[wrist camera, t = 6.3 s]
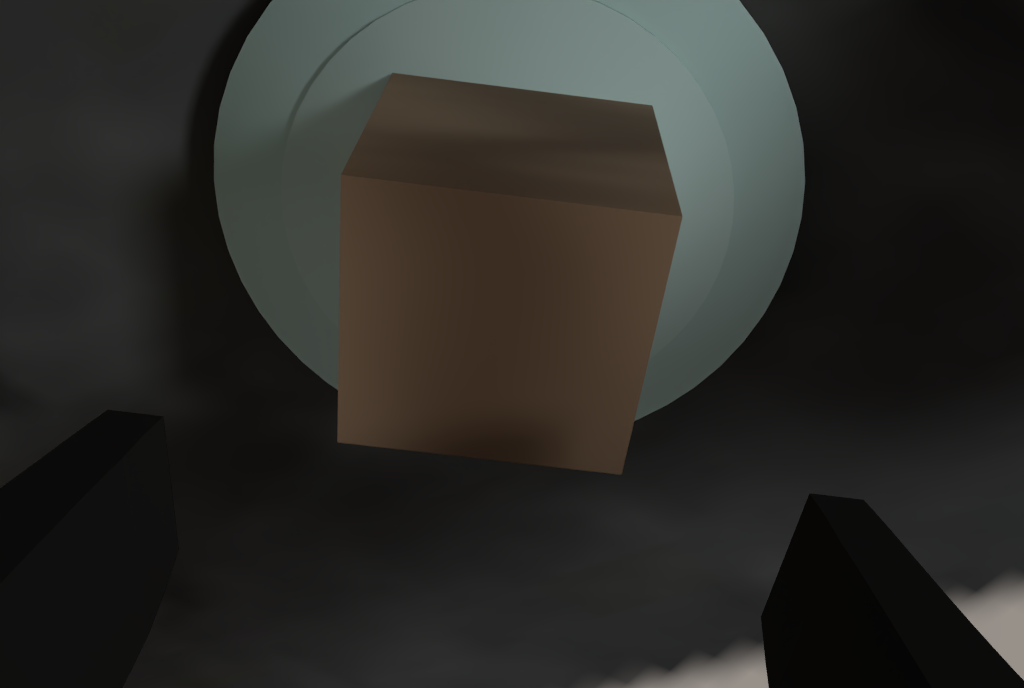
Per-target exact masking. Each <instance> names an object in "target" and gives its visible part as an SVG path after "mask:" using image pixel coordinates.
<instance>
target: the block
mask: <svg viewBox="0 0 1024 688" xmlns="http://www.w3.org/2000/svg"><path fill="white" fill-rule="evenodd" d="M682 217H683V216H682V212H681V209H680V205H679V201H678V198H677V194H676V190H675V187H674V183H673V179H672V176H671V172H670V168H669V165H668V161H667V157H666V154H665V150H664V146H663V142H662V139H661V135H660V131H659V128H658V124H657V120H656V117H655V113H654V109H653V106H652V105H645V104H637V103H629V102H621V101H613V100H605V99H597V98H589V97H581V96H573V95H566V94H558V93H550V92H542V91H534V90H526V89H518V88H510V87H502V86H494V85H486V84H478V83H470V82H462V81H454V80H446V79H438V78H430V77H422V76H414V75H406V74H398V73H392V75H391V77H390V79H389V81H388V83H387V85H386V87H385V88H384V90H383V92H382V94H381V96H380V98H379V100H378V102H377V104H376V106H375V108H374V110H373V112H372V114H371V116H370V118H369V120H368V122H367V124H366V126H365V128H364V130H363V132H362V134H361V136H360V138H359V140H358V142H357V144H356V146H355V148H354V150H353V152H352V154H351V156H350V158H349V159H348V161H347V163H346V165H345V167H344V169H343V171H342V173H341V196H340V276H339V356H338V436H337V442H339V443H347V444H356V445H365V446H374V447H382V448H391V449H400V450H409V451H417V452H426V453H435V454H444V455H452V456H461V457H470V458H479V459H488V460H496V461H505V462H514V463H523V464H531V465H540V466H549V467H558V468H566V469H575V470H584V471H593V472H602V473H610V474H619V475H622V471H623V467H624V462H625V458H626V454H627V450H628V445H629V441H630V437H631V433H632V429H633V424H634V420H635V416H636V412H637V407H638V403H639V399H640V395H641V390H642V386H643V382H644V378H645V374H646V369H647V365H648V361H649V357H650V352H651V348H652V344H653V340H654V335H655V331H656V327H657V323H658V319H659V314H660V310H661V306H662V302H663V297H664V293H665V289H666V285H667V280H668V276H669V272H670V268H671V264H672V259H673V255H674V251H675V247H676V242H677V238H678V234H679V230H680V225H681V221H682Z"/></svg>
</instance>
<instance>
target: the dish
mask: <svg viewBox="0 0 1024 688" xmlns="http://www.w3.org/2000/svg"><path fill="white" fill-rule="evenodd" d="M392 73H398V74H406V75H414V76H422V77H430V78H438V79H446V80H454V81H462V82H470V83H478V84H486V85H494V86H502V87H510V88H518V89H526V90H534V91H542V92H550V93H558V94H566V95H573V96H581V97H589V98H597V99H605V100H613V101H621V102H629V103H637V104H645V105H652V106H653V109H654V113H655V117H656V120H657V124H658V128H659V131H660V135H661V139H662V142H663V146H664V150H665V154H666V157H667V161H668V165H669V168H670V172H671V176H672V179H673V183H674V187H675V190H676V194H677V198H678V201H679V205H680V209H681V212H682V216H683V217H682V221H681V225H680V230H679V234H678V238H677V242H676V247H675V251H674V255H673V259H672V264H671V268H670V272H669V276H668V280H667V285H666V289H665V293H664V297H663V302H662V306H661V310H660V314H659V319H658V323H657V327H656V331H655V335H654V340H653V344H652V348H651V352H650V357H649V361H648V365H647V369H646V374H645V378H644V382H643V386H642V390H641V395H640V399H639V403H638V407H637V412H636V416H635V420H638V419H640V418H642V417H644V416H646V415H648V414H650V413H652V412H654V411H656V410H658V409H660V408H662V407H664V406H666V405H668V404H670V403H671V402H673V401H674V400H676V399H677V398H679V397H680V396H682V395H683V394H685V393H687V392H688V391H690V390H691V389H693V388H694V387H696V386H697V385H698V384H699V383H700V382H702V381H703V380H704V379H705V378H707V377H708V376H709V375H710V374H711V373H713V372H714V371H715V370H716V369H717V368H719V367H720V366H721V365H722V364H723V363H724V362H725V361H726V360H727V359H728V358H729V357H730V356H731V354H732V353H733V352H734V351H735V350H736V349H737V348H738V347H739V346H740V345H741V344H742V343H743V342H744V341H745V339H746V338H747V337H748V335H749V334H750V332H751V331H752V330H753V328H754V327H755V326H756V324H757V323H758V322H759V320H760V319H761V318H762V316H763V315H764V313H765V311H766V310H767V308H768V306H769V304H770V302H771V301H772V299H773V297H774V295H775V294H776V292H777V290H778V288H779V286H780V285H781V282H782V279H783V277H784V274H785V272H786V269H787V267H788V264H789V262H790V259H791V257H792V254H793V251H794V247H795V243H796V239H797V235H798V231H799V227H800V222H801V218H802V209H803V199H804V189H805V167H804V145H803V139H802V134H801V129H800V124H799V119H798V114H797V109H796V105H795V102H794V99H793V97H792V94H791V91H790V88H789V85H788V82H787V80H786V77H785V74H784V71H783V69H782V67H781V65H780V63H779V61H778V59H777V57H776V56H775V54H774V52H773V50H772V48H771V46H770V44H769V42H768V40H767V39H766V37H765V35H764V33H763V32H762V30H761V29H760V28H759V26H758V25H757V24H756V22H755V21H754V20H753V18H752V17H751V16H750V14H749V13H748V11H747V10H746V9H745V7H744V6H743V5H742V3H741V2H740V1H739V0H272V1H271V3H270V4H269V5H268V7H267V8H266V10H265V11H264V13H263V14H262V16H261V17H260V18H259V20H258V21H257V23H256V24H255V26H254V27H253V29H252V30H251V32H250V33H249V35H248V36H247V38H246V40H245V42H244V45H243V47H242V49H241V51H240V53H239V55H238V57H237V59H236V61H235V63H234V66H233V68H232V70H231V72H230V75H229V78H228V82H227V85H226V88H225V92H224V95H223V98H222V102H221V105H220V108H219V115H218V122H217V128H216V135H215V142H214V185H215V193H216V200H217V207H218V215H219V219H220V223H221V226H222V230H223V233H224V237H225V241H226V244H227V248H228V251H229V253H230V256H231V258H232V260H233V263H234V265H235V267H236V270H237V272H238V275H239V277H240V279H241V282H242V283H243V285H244V287H245V288H246V290H247V292H248V294H249V295H250V297H251V299H252V300H253V302H254V304H255V306H256V307H257V309H258V311H259V312H260V313H261V315H262V316H263V317H264V319H265V320H266V321H267V323H268V324H269V325H270V327H271V328H272V329H273V331H274V332H275V333H276V335H277V336H278V337H279V338H280V339H281V341H282V342H283V343H284V344H285V345H286V346H287V347H288V348H289V349H290V350H291V351H292V352H293V353H294V354H295V355H296V356H297V357H298V358H299V359H300V360H301V361H302V362H303V363H304V364H305V365H306V366H308V367H309V368H310V369H311V370H312V371H314V372H315V373H316V374H317V375H318V376H320V377H321V378H322V379H323V380H324V381H326V382H327V383H328V384H330V385H331V386H333V387H334V388H336V389H337V390H338V356H339V276H340V196H341V173H342V171H343V169H344V167H345V165H346V163H347V161H348V159H349V158H350V156H351V154H352V152H353V150H354V148H355V146H356V144H357V142H358V140H359V138H360V136H361V134H362V132H363V130H364V128H365V126H366V124H367V122H368V120H369V118H370V116H371V114H372V112H373V110H374V108H375V106H376V104H377V102H378V100H379V98H380V96H381V94H382V92H383V90H384V88H385V87H386V85H387V83H388V81H389V79H390V77H391V75H392ZM635 420H634V421H635Z"/></svg>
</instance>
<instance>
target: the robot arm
mask: <svg viewBox="0 0 1024 688" xmlns="http://www.w3.org/2000/svg"><path fill="white" fill-rule="evenodd" d="M178 550H179V547H178V538H177V530H176V521H175V513H174V504H173V496H172V487H171V479H170V470H169V461H168V453H167V444H166V436H165V427H164V419H163V416H154V415H146V414H138V413H129V412H121V411H112V410H107V411H106V412H104V413H103V414H101V415H100V416H99V417H97V418H96V419H94V420H93V421H91V422H90V423H89V424H87V425H86V426H85V427H83V428H82V429H80V430H79V431H78V432H76V433H75V434H74V435H72V436H71V437H70V438H68V439H67V440H66V441H64V442H63V443H61V444H60V445H59V446H57V447H56V448H55V449H53V450H52V451H51V452H49V453H48V454H46V455H45V456H44V457H42V458H41V459H40V460H38V461H37V462H36V463H34V464H33V465H32V466H30V467H29V468H27V469H26V470H25V471H23V472H22V473H21V474H19V475H18V476H17V477H15V478H14V479H12V480H11V481H10V482H8V483H7V484H6V485H4V486H3V487H2V488H0V688H122V687H123V685H124V683H125V681H126V679H127V677H128V675H129V673H130V671H131V669H132V667H133V665H134V663H135V661H136V659H137V657H138V655H139V653H140V651H141V649H142V647H143V645H144V643H145V641H146V639H147V636H148V634H149V632H150V629H151V627H152V624H153V621H154V619H155V616H156V613H157V611H158V608H159V605H160V602H161V600H162V597H163V594H164V591H165V588H166V585H167V583H168V580H169V577H170V574H171V571H172V568H173V565H174V562H175V559H176V556H177V553H178ZM761 621H762V631H763V640H764V650H765V660H766V669H767V676H768V684H769V688H1024V680H1023V679H1022V678H1021V677H1020V676H1019V675H1018V674H1017V673H1016V672H1015V671H1014V670H1013V669H1012V668H1011V667H1010V665H1008V663H1007V662H1006V661H1005V660H1004V659H1003V658H1002V657H1001V656H1000V655H999V653H998V652H997V651H996V650H995V649H994V648H993V647H992V646H991V645H990V644H989V642H988V641H987V640H986V639H985V638H984V637H983V636H982V635H981V634H980V632H979V631H978V630H977V629H976V628H975V627H974V626H973V625H972V623H971V622H970V621H969V620H968V619H967V618H966V617H965V616H964V614H963V613H962V612H961V611H960V610H959V609H958V608H957V606H956V605H955V604H954V603H953V602H952V601H951V600H950V598H949V597H948V596H947V595H946V594H945V593H944V592H943V590H942V589H941V588H940V587H939V586H938V585H937V583H936V582H935V581H934V580H933V579H932V578H931V576H930V575H929V574H928V573H927V572H926V571H925V570H924V568H923V567H922V566H921V565H920V564H919V563H918V561H917V560H916V559H915V558H914V557H913V556H912V554H911V553H910V552H909V551H908V550H907V549H906V547H905V546H904V545H903V544H902V543H901V542H900V540H899V539H898V538H897V537H896V536H895V535H894V533H893V532H892V531H891V530H890V529H889V528H888V527H887V525H886V524H885V523H884V522H883V521H882V520H881V519H880V517H879V516H878V515H877V514H876V513H875V512H874V511H873V510H872V509H871V508H870V506H869V505H868V504H867V503H866V502H865V501H864V500H860V499H852V498H843V497H835V496H826V495H818V494H809V496H808V499H807V501H806V504H805V506H804V509H803V512H802V514H801V517H800V519H799V522H798V524H797V527H796V529H795V532H794V534H793V537H792V539H791V542H790V545H789V547H788V550H787V552H786V555H785V557H784V560H783V562H782V565H781V567H780V570H779V572H778V575H777V578H776V580H775V583H774V585H773V588H772V590H771V593H770V595H769V598H768V600H767V603H766V605H765V608H764V611H763V613H762V616H761Z"/></svg>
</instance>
